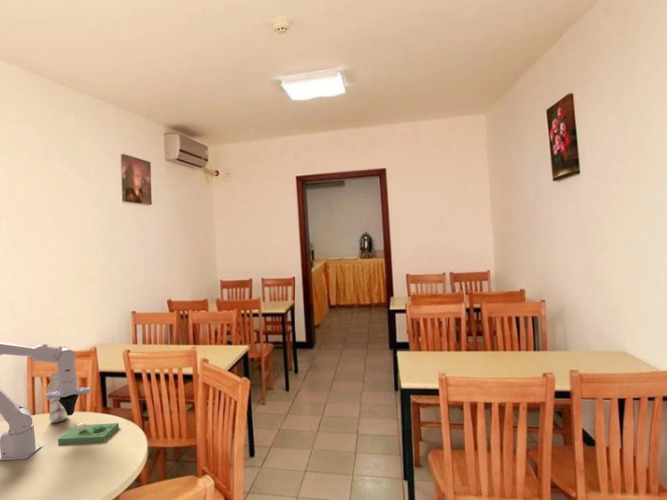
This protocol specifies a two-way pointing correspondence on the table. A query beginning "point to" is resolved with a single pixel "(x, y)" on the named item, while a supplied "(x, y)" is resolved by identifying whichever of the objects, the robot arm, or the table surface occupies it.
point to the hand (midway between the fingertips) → (70, 414)
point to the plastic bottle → (55, 401)
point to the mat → (89, 434)
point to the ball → (82, 427)
